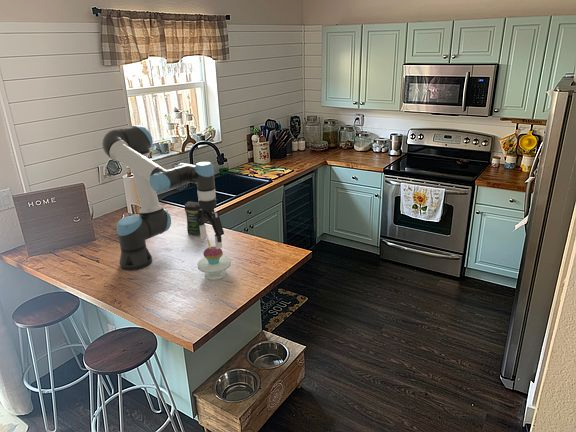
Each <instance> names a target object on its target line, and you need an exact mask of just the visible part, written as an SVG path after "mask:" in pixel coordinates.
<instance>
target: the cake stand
mask: <svg viewBox="0 0 576 432" xmlns="http://www.w3.org/2000/svg"><path fill="white" fill-rule="evenodd" d="M231 265H232V260H231V258H230V257H229V256H227V255H224V254H223V255H222V256H221V257H220V259H219V263H217V264H209V263H208V261H207V259H206V258H205V257H204V256H203V257H202V258H200V259H199V260H198V262H197V270H199V271H200V272H202V273H203V275H204V278H205V279H207V280H208V281H218V280H221V279H223V278H225V277H226V276H227V270H228V269H229V268H230V267H231Z"/></svg>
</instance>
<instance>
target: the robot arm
mask: <svg viewBox="0 0 576 432" xmlns="http://www.w3.org/2000/svg"><path fill="white" fill-rule="evenodd" d="M101 144H102V150H103V152H104V153H105V154H106V156H107V157H108V158H110V159H112V160H113V161H116V162H120V163H122V164H123V165H124V166H126V167H128V168H129V169H131V171H132V176H133V179H134V184H135V188H136V192H137V195H138V196H137V197H138V199H139V200H138V201H139V203H140V207H141V208H140V209H139V214H132V215H128V216H124V217H122V218H121V219H120V220H118V222H117V223H116V234H117V236H118V240H119V241H118V242H119V246H120V251H121V252H120V258H119V267H120V269H122V270H124V271H138V270H142V269H144V268H147V267H149V266H150V265H151V264H152V263H153V256H152V255H151V253H150V251H149V249H148V247H147V244H146V241H147V240H148V239H151V238H154V237H157V236H158V235H161V234H164V233H165V232H167V231H168V230H169V229H170V228H171V224H172V218H171V213H169V212H168V210H167V209H165V208H164V206H163V205H162V204H160V202H159V198H158V195H157V192H158V193H159V192H164V191H168V190H170V189H173V188H176V187H178V186H181V185H182V186H183V185H185V184H188V183H192V184H196V187H197V188H196V191H197V198H198V201H197V202H198V203H199V206H198V214H197V219H196V222H197V223H198V224H199V225H200V226H199V227H200V235H199V237H200V240H203V239H206V238H207V237H208V236H207V227H206V221H207V220H208V222H209V223H210V224H211V227H212V229H213V231H214V233H215V234H214V241H215V247H216V249H219V248H220V249H222V248H223V242H222V241H223V240H222V235H225V231H224V227H223V226H222V223H221V218H220V214H219V213H220V212H218V211H217V212H216V211H215V208H216V207H217V198H216V197H217V196H216V195H217V194H216V185H215V184H216V182H215V171H214V170H215V169H214V164H213V163H211V162H210V161H200V162H197V163H195V165H194V164H192V163H191V164H190V163H188V162H187V163H185V162H180V163H178V164H177V165H176V166H175V167H173V168H170V169H165V168H164V167H162V166H160V165H159V164H158V163H155V162H154V161H153V160H151V159H150V158H149V155H150V154H151V151H150V149H151V148H152V147H153V144H154V141H153V137H152V134H151V132H150V131H149V129H147V128H146V127H145V126H143V125H130V126H127V127H122V128H116V129H111V130H110V131H108V132H107V133H106V134H105V135H104V137H103V139H102V143H101ZM207 239H208V238H207Z"/></svg>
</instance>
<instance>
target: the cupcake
mask: <svg viewBox="0 0 576 432" xmlns="http://www.w3.org/2000/svg"><path fill="white" fill-rule="evenodd" d="M206 242H207V245H208V247H207V248H205V250H204V251H203V258H204V257H205V258H206V259H207V261H208V263H209V264H217V263H219V259H220V257H221V256H222V255H224V253H223V249H222V248H219V249H216V246H211V244H210V240H209V238H207V239H206Z"/></svg>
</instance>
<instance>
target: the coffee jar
mask: <svg viewBox="0 0 576 432" xmlns="http://www.w3.org/2000/svg"><path fill="white" fill-rule="evenodd" d="M198 206H199V202H198V201H187V202H186V203H185V204H184V211H185V215H186V228H187V229H186V231H187V234H188V235H192V236H200V227H199V226H200V225H199V224H198V223H197V222H196V219H197V214H198Z"/></svg>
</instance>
